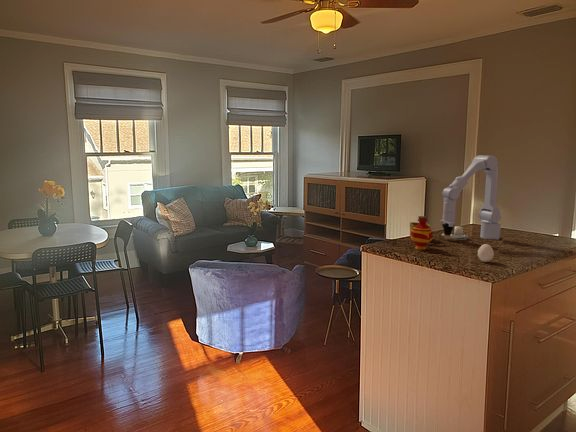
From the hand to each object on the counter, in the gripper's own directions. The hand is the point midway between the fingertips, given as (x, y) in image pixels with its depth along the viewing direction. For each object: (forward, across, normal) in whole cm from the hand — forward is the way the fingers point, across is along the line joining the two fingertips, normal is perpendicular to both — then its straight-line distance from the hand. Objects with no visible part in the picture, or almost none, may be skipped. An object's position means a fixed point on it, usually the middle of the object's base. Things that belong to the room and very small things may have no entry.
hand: (447, 238), depth 226 cm
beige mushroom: (+1, -8, +7) cm, 10 cm away
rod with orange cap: (0, -1, +5) cm, 5 cm away
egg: (+2, +37, +8) cm, 38 cm away
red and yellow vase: (+2, +17, -15) cm, 23 cm away
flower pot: (+2, +2, -14) cm, 14 cm away
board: (+2, -5, +4) cm, 7 cm away
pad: (+2, -13, +2) cm, 13 cm away
